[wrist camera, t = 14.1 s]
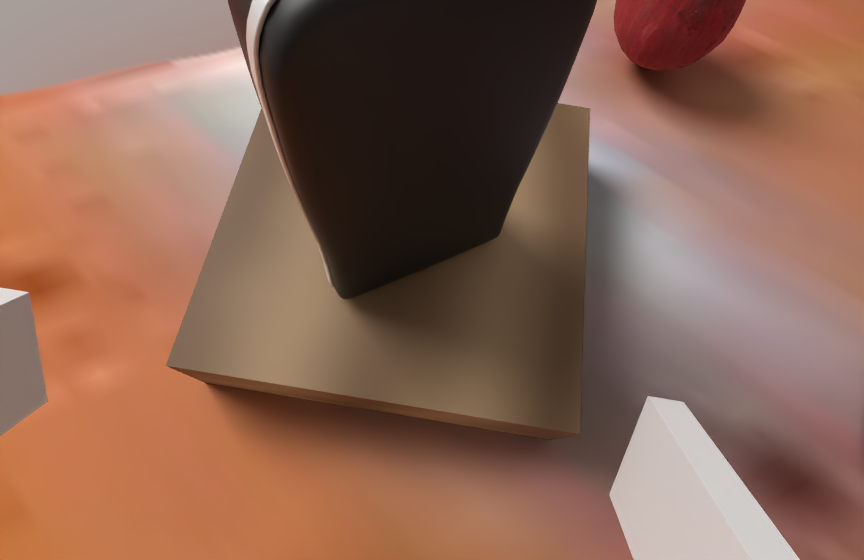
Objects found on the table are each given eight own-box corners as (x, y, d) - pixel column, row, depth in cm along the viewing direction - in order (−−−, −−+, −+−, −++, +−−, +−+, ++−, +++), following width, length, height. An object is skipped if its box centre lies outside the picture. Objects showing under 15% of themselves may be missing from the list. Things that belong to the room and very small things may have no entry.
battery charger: (461, 164, 19) (535, -209, 9) (506, 238, 18) (653, -94, 8) (299, 223, 18) (157, -145, 7) (336, 309, 17) (230, 11, 6)
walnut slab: (561, 162, 25) (589, 108, 21) (545, 440, 19) (580, 434, 16) (298, 119, 25) (280, 57, 21) (211, 385, 19) (165, 365, 16)
